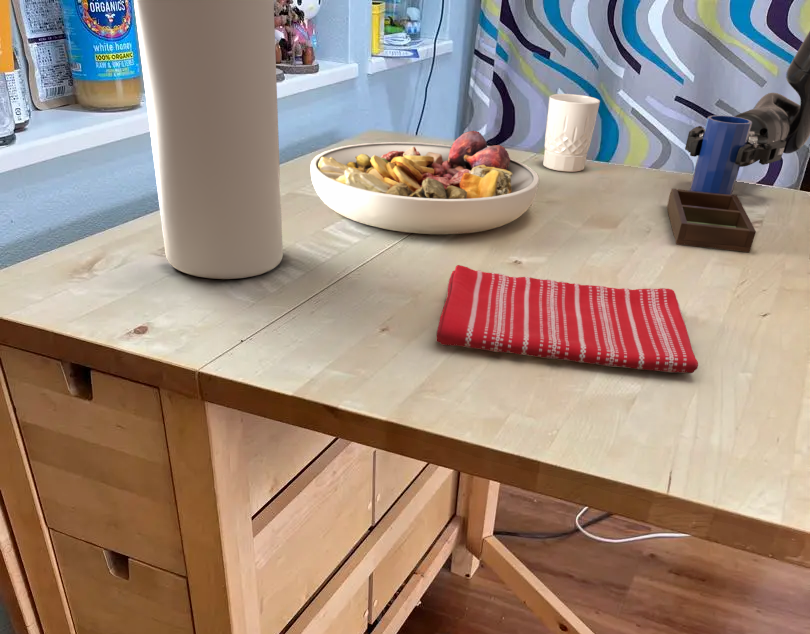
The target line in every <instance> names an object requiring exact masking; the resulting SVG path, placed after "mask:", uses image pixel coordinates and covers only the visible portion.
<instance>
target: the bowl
mask: <svg viewBox="0 0 810 634" xmlns="http://www.w3.org/2000/svg"><path fill="white" fill-rule="evenodd" d="M310 177H311V182H312V185H313V188H314V190H315V192H316V194H317V196H318V197H319V199H320V200H321V201H322V202H323V203H324V205H326V206H327V207H329V208H330V209H331V210H332V211H334V212H335V213H337V214H339V215H340V216H343V217H345V218H347V219H349V220H352V221H354V222H357V223H359V224H363V225H367V226H370V227H375V228H379V229H382V230H383V229H384V230H387V231H388V230H389V231H395V232H401V233H409V234H422V235H459V234H460V235H461V234H462V235H463V234H470V233H479V232H485V231H490V230H493V229H496V228H497V229H498V228H500V227H503V226H505V225H507V224H510V223H512V222H514V221H516V220H517V219H519V218H520V217H521V216H522V215H523V214H525V213H526V212H527V211H528V209H530V207H531V206H532V204H533V202H534V200H535V199H536V196H537V193H538V188H539V182H540V178H539V175H538V173H537V172H536V171H535V170H534V169H533V168H531V167H530V166H529V165H527V164H525V163H523V162H521V161H519V160H517V159H515V158H511V157H510V155H509V152H508V150H506V148H505V147H504V146H502V145H499V144H497V145H496V144H495V145H494V144H493V145H489V146H488V144H487V141H486V138H485V136H483V134H482V133H480V132H479V131H477V130H469V131H465V132H463V133H462V134H461V135H460V136H458V137H457V138H456V139H455V140H454V141H453V143H452V145H451V144H443V143H442V144H441V143H432V142H431V143H430V142H417V141H416V142H415V141H414V142H412V141H383V142H382V141H381V142H378V141H377V142H366V143H356V144H349V145H344V146H339V147H334V148H331V149H328V150H325V151H322V152H320V153H319V154H317V155H316V156H314V157H313V159H311V162H310Z"/></svg>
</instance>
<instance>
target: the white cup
mask: <svg viewBox="0 0 810 634" xmlns="http://www.w3.org/2000/svg"><path fill="white" fill-rule="evenodd" d="M600 103H601V100H600V99H598V98H596V97H593V96H590V95H589V96H588V95H582V94H572V93H555V94H551V95H549V97H548V105H547V106H548V107H547V116H546V126H545V134H544V146H543V147H544V155H543V163H542V165H543V166H544V167H545V168H547V169H550V170H554V171H559V172H569V173H570V172H571V173H572V172H573V173H574V172H580V171H584V170H585V166H586V161H587V158H588V157H587V156H588V153H589V151H590V146H591V143H592V138H593V135H594V131H595V127H596V126H595V125H596V123H597V122H596V120H597V117H598V112H599V108H600Z"/></svg>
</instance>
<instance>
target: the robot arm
mask: <svg viewBox="0 0 810 634" xmlns="http://www.w3.org/2000/svg"><path fill="white" fill-rule="evenodd" d="M785 79H786V81H787V83H788V84H789V86H790V87H791V88H792V89H793V90H794V91H795V92H796V93H797V95H798V97H799V99H800V103H799V104H798V103H797V102H795V101H794V100H791V99H790V98H788V97H786V96H784V95H783V94H781V93H778V92H768V93H766V94H765V95H763V96H762V97H761V98H760V99H759V100H758V101H757V102H756V103H755V105H754V106H753V108H752V109H748V110H746V111H744V112H741V113H739V114H738V113H737V114H736V115H734V116H733V117H739V118H744V119H748V120H750V121H752V125H751V129H750V132H749V136H748V139H747V143H746V145H745V146H742V147H740V149H739V151H738V155H737V158H736V162H735V164H737V165H740V168H743V167H748V166H751V165H753V164H755V163H756V162H758V164H760V165H762V166H764V165H770V164H772V163H774V162H779V161H781V160H782V157H783V154H786V155H787V154H788V155H789V154H792V153H795V152H797V151H798V150H800V149H801V148H802V147H803V146H804V145H805V144H806V142H808V139H810V30H809V31H808V32H807V35H806V36H805V38H804V39H803V42H802V43H801V45H800V47H799V49H798V50H797V52H796V53H795V56H794V57H793V58H792V61H791V62H790V64H789V66H788V68H787V70H786V73H785ZM704 130H705V127H703V126H702V125H698V126H695V127H694V128H692V129H691V130H689V131H688V134H687V138H686V143H685V147H684V150H685V151H687V153H689V156H690V157H694V158H695V157H698V154H699V150H700V146H701V142H702V138H703V134H704Z"/></svg>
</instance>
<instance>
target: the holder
mask: <svg viewBox="0 0 810 634" xmlns="http://www.w3.org/2000/svg"><path fill="white" fill-rule="evenodd" d="M666 209H667V214H668V217H669V221H670V225H671V229H672V233H673V236H674V241H675V244H676V245H679V246H680V245H681V246H690V247H697V248H708V249H715V250H725V251H734V252H743V253H750V252H751V250H752V246H753V243H754V239H755V236H756V233H757V231H756V228H755V227H754V225H753V222H752V221H751V219H750V217H749V215H748V213H747V212H746V209H745V207H744V206H743V204H742V202H741V200H740V199H739V197H738V195H737V194H736V195H735V194H732V195H728V194H719V193H709V192H700V191H690V189H680V188H671V189H670V192H669V197H668V201H667V205H666Z"/></svg>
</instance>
